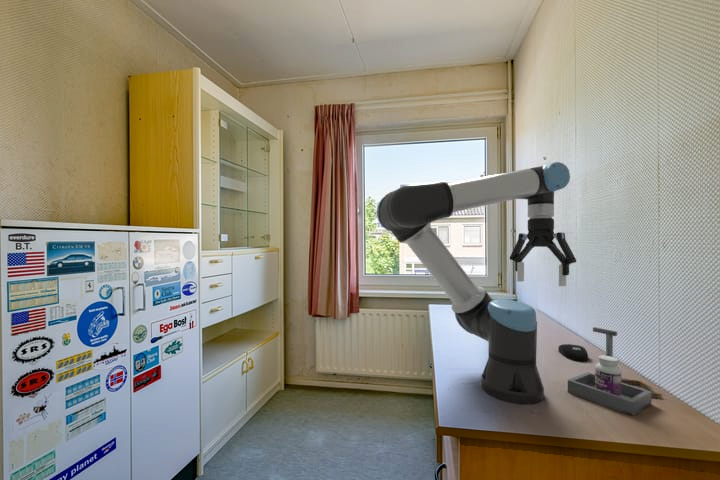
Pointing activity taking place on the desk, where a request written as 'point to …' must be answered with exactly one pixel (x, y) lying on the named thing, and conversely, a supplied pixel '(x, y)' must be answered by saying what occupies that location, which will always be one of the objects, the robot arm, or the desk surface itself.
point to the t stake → (607, 339)
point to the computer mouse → (574, 352)
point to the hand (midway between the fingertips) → (540, 283)
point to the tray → (627, 403)
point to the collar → (637, 382)
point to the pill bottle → (608, 375)
